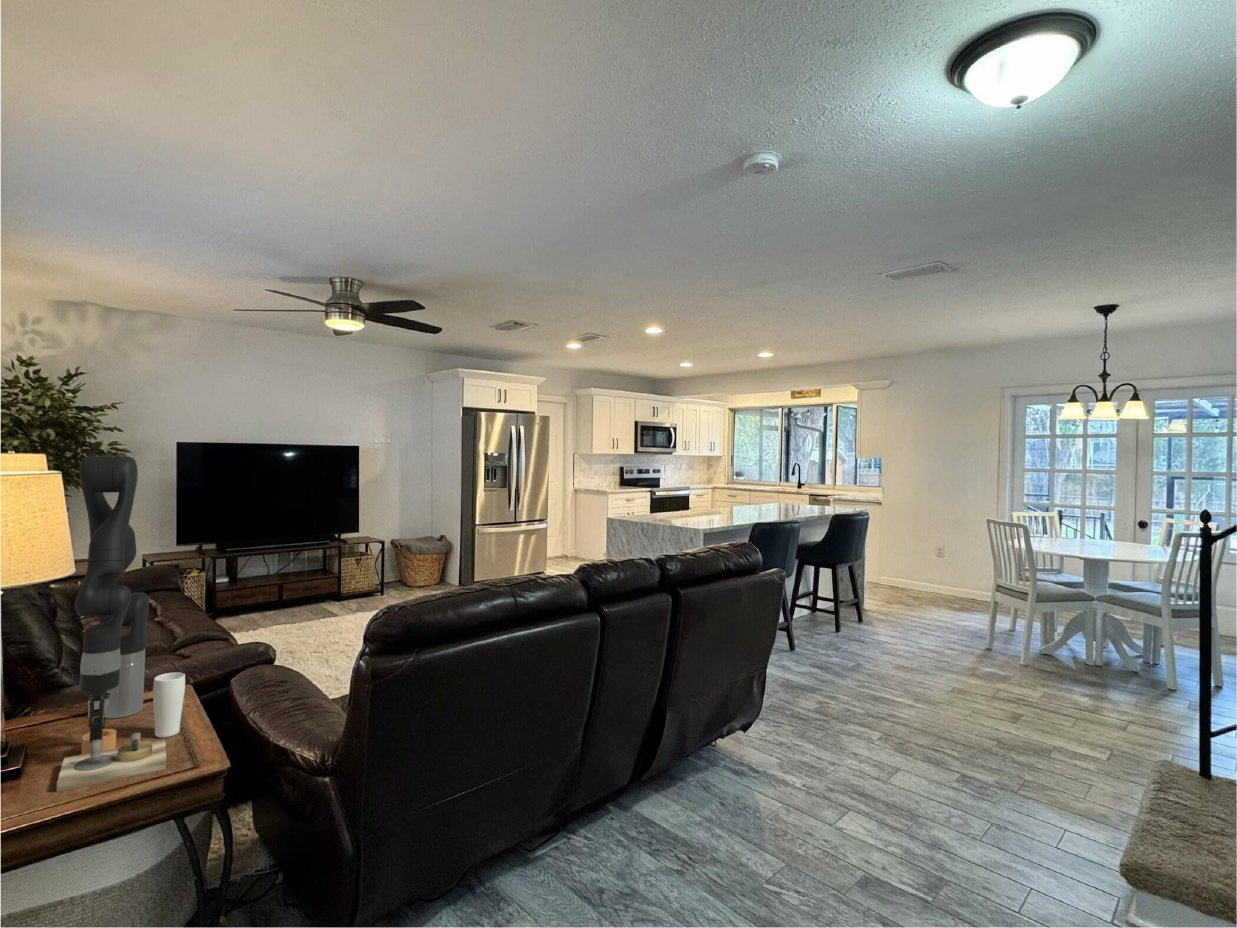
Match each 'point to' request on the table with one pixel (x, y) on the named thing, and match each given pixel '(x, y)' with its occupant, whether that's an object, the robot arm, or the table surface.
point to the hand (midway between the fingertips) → (97, 735)
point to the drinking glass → (168, 703)
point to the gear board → (112, 763)
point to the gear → (106, 742)
